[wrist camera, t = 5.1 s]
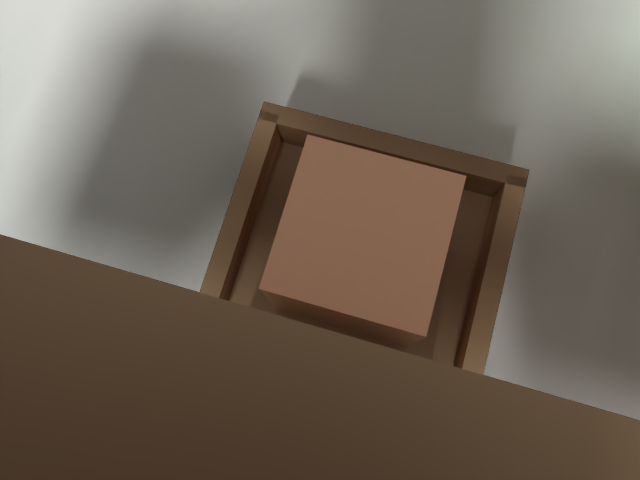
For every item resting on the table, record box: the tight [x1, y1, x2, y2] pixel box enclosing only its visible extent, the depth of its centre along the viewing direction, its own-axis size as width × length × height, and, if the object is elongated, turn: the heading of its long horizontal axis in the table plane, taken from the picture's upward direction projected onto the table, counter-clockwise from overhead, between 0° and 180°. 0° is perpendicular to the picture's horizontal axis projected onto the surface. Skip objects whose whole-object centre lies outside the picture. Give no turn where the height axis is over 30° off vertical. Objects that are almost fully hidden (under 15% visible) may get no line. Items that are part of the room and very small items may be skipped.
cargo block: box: [259, 134, 466, 347], centre depth 14 cm, size 4×4×4 cm
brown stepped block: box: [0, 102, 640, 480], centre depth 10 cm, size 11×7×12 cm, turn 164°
